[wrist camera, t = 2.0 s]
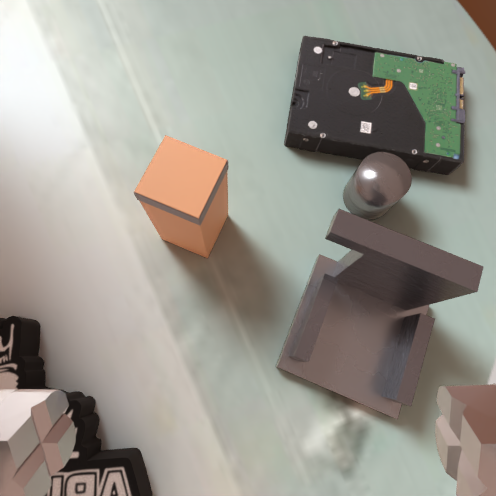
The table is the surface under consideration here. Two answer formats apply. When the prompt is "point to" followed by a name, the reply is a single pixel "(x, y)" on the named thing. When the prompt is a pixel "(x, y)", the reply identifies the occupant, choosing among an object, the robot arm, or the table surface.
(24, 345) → the sign
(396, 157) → the link stub
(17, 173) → the table surface
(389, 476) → the table surface
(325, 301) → the keeper
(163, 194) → the orange tall block
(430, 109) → the disk drive
